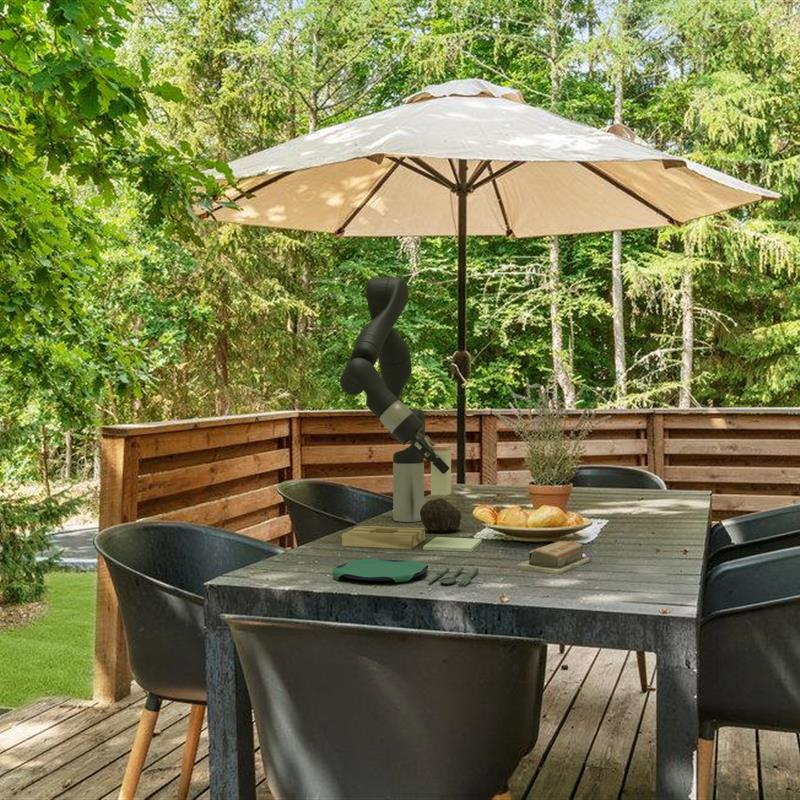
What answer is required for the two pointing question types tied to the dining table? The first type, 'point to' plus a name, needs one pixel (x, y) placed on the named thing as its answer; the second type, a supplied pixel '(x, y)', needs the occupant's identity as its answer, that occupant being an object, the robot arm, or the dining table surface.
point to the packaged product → (555, 558)
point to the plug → (438, 479)
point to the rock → (440, 516)
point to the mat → (452, 544)
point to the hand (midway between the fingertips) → (448, 470)
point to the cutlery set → (393, 571)
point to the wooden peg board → (383, 537)
